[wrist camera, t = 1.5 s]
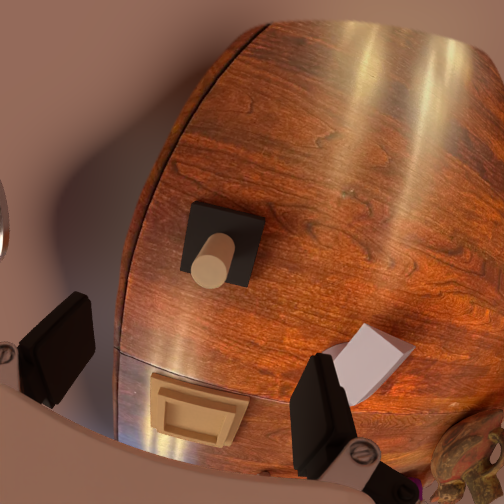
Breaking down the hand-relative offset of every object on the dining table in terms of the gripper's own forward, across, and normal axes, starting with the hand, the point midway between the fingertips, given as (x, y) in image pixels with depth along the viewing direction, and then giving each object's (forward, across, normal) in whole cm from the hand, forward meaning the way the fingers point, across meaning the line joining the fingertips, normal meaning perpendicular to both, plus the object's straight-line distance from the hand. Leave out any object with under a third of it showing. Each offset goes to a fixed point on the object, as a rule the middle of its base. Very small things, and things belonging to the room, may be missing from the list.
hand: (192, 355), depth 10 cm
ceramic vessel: (+19, -57, +33) cm, 69 cm away
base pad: (+18, +1, +29) cm, 35 cm away
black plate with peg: (+18, +1, +1) cm, 18 cm away
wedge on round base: (+18, -18, +13) cm, 29 cm away
